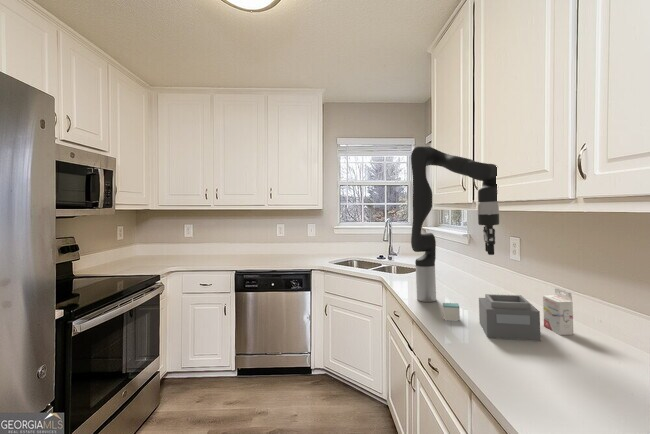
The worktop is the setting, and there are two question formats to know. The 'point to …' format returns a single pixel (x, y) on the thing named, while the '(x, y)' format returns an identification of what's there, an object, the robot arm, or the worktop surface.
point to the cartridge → (451, 311)
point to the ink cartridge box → (558, 312)
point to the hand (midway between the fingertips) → (489, 253)
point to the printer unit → (509, 317)
